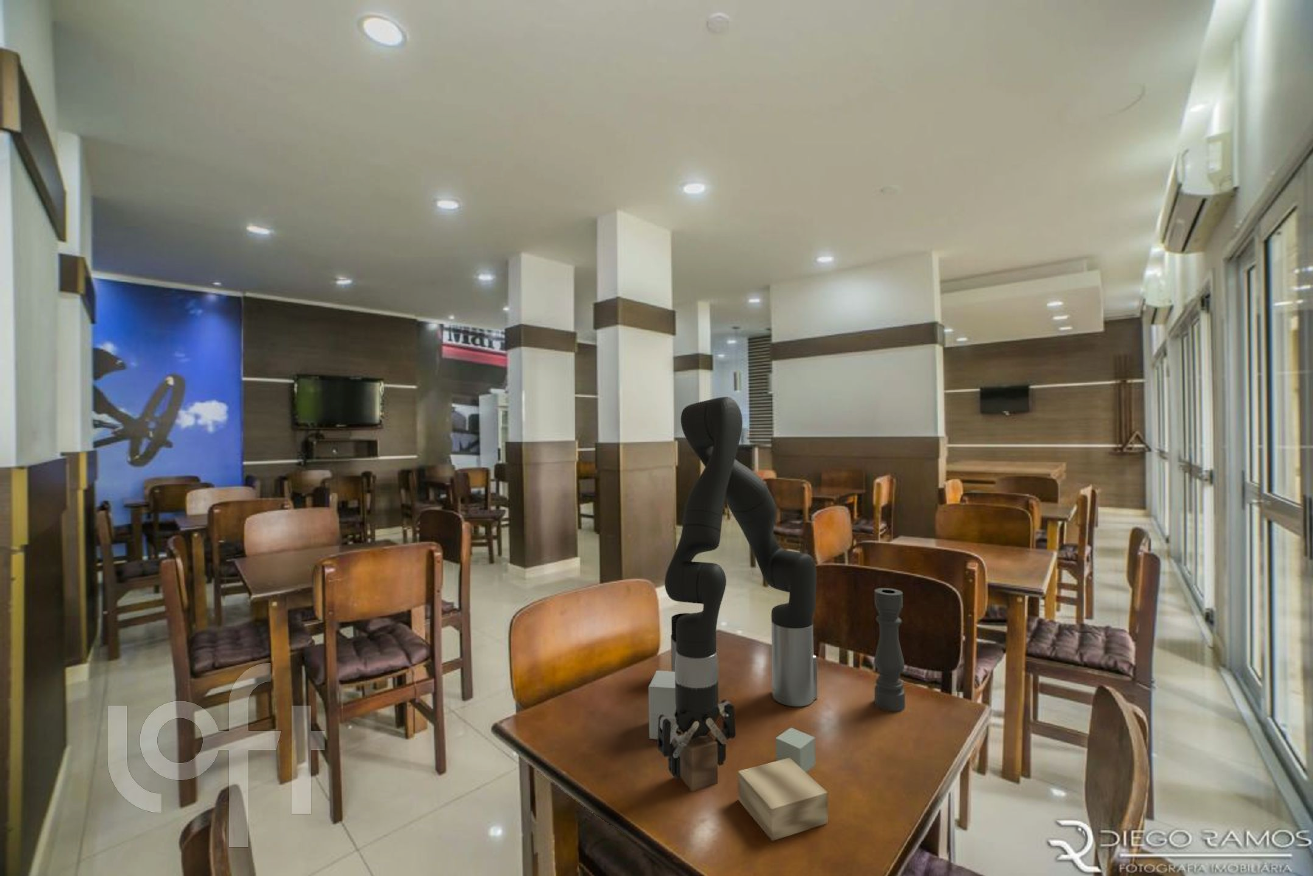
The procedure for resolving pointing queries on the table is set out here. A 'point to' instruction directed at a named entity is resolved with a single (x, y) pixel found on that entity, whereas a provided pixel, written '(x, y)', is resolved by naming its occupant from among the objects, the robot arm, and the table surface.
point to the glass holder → (674, 639)
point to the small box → (661, 700)
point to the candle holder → (889, 651)
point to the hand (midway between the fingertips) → (697, 769)
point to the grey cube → (796, 748)
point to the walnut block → (699, 763)
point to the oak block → (782, 798)
